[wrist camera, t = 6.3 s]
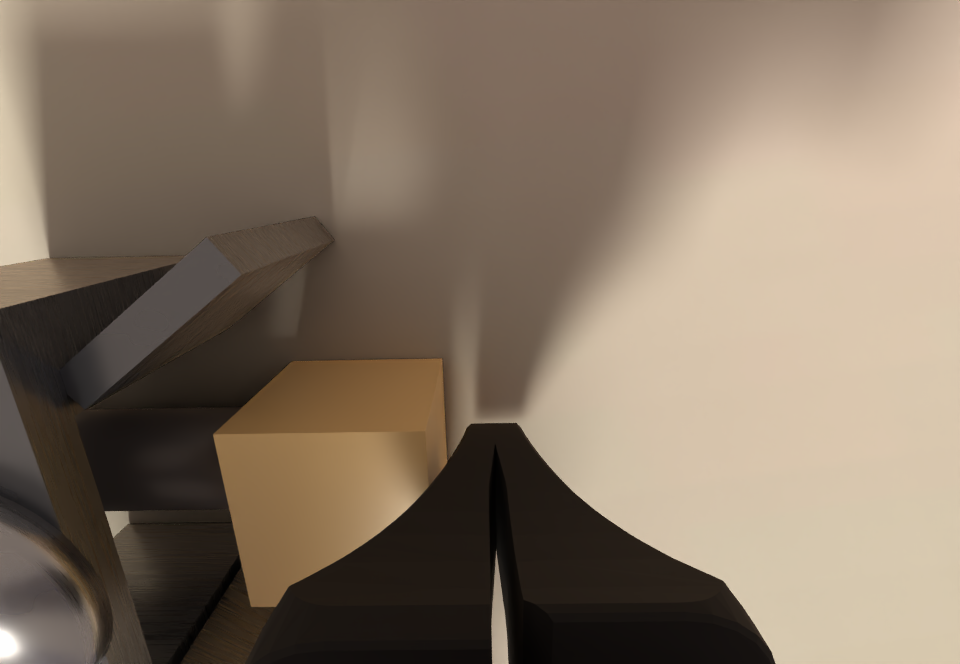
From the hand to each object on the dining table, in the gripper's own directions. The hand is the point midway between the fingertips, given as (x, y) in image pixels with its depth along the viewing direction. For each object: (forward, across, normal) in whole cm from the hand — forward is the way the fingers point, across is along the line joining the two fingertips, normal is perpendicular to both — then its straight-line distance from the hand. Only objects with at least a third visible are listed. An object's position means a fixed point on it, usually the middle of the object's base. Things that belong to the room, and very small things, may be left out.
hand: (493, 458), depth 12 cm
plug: (+1, +10, 0) cm, 10 cm away
